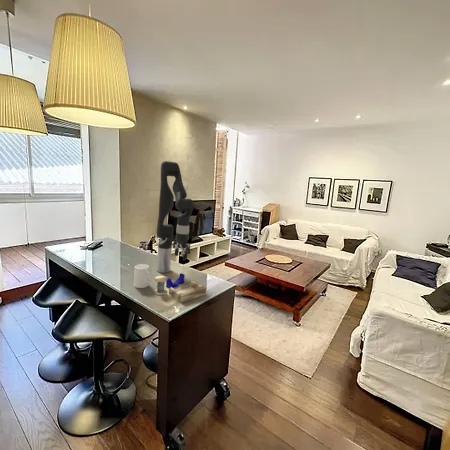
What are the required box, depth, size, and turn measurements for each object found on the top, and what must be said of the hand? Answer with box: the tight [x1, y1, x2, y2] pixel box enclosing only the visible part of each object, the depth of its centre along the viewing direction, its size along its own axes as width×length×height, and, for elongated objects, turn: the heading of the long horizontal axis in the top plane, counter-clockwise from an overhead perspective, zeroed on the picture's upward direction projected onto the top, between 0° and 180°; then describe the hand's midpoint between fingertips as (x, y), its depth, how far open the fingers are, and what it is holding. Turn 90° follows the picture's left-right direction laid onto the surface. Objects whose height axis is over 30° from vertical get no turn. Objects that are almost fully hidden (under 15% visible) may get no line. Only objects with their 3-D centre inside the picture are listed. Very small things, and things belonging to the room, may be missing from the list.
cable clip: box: [165, 272, 186, 289], centre depth 156 cm, size 12×4×6 cm, turn 142°
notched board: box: [168, 280, 207, 304], centre depth 146 cm, size 12×18×4 cm, turn 137°
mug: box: [133, 263, 151, 289], centre depth 150 cm, size 12×8×12 cm
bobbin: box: [153, 275, 168, 296], centre depth 144 cm, size 7×7×9 cm
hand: (180, 257), depth 153 cm, fingers open, 8 cm apart
